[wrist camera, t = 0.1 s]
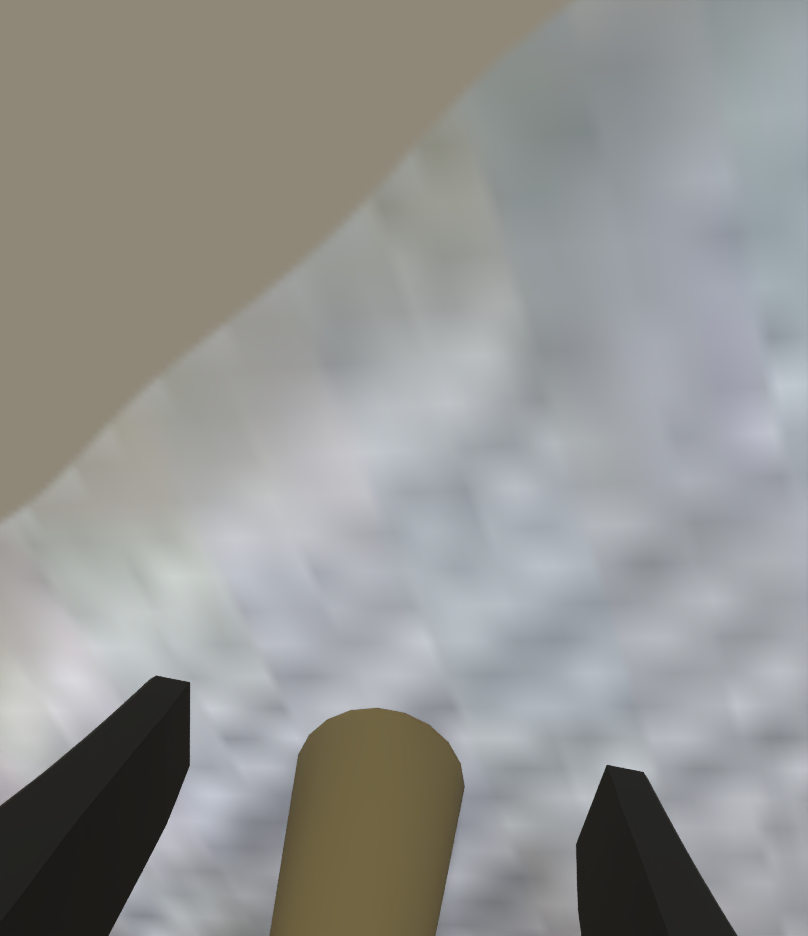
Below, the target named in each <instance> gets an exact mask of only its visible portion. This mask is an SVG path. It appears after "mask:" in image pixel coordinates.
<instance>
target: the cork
mask: <svg viewBox="0 0 808 936" xmlns="http://www.w3.org/2000/svg"><path fill="white" fill-rule="evenodd" d="M464 787H465V786H464V780H463V774H462V769H461V763H460V762H459V760H458V758H457V756H456V755H455V753H454V751H453V749H452V748H451V746H450V744H449V742H447V741H446V740H445V739H444V738H443V737H442V736H441V735H440V734H439V733H438V732H436V731H435V730H434V729H433V728H432V727H431V726H430V725H428V724H426V723H424V722H422V721H420V720H418V719H416V718H414V717H412V716H410V715H408V714H406V713H402V712H397V711H392V710H386V709H381V708H371V709H359V710H350V711H348V712H345V713H343V714H340V715H338V716H335V717H333V718H330V719H328V720H326V721H325V722H324V723H323V724H322V725H320V726H319V727H318V728H317V729H316V730H315V731H313V732H312V733H311V734H310V735H309V736H308V738H307V740H306V742H305V743H304V745H303V747H302V749H301V751H300V753H299V754H298V760H297V766H296V772H295V779H294V785H293V791H292V798H291V804H290V810H289V816H288V823H287V829H286V835H285V842H284V848H283V854H282V861H281V867H280V873H279V880H278V886H277V892H276V899H275V905H274V911H273V918H272V924H271V930H270V936H435V935H436V930H437V925H438V920H439V915H440V910H441V904H442V899H443V894H444V889H445V884H446V879H447V874H448V869H449V863H450V858H451V853H452V848H453V843H454V838H455V833H456V828H457V822H458V817H459V812H460V807H461V802H462V797H463V792H464Z"/></svg>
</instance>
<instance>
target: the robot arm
mask: <svg viewBox="0 0 808 936" xmlns="http://www.w3.org/2000/svg"><path fill="white" fill-rule="evenodd" d="M189 766H190V682H186V681H181V680H176V679H171V678H166V677H161V676H155V677H153V678H151V679H150V680H149V681H148V682H146V683H145V684H144V685H143V686H142V687H141V688H140V689H139V690H138V691H137V692H136V693H135V694H133V695H132V696H131V697H130V698H129V699H128V700H127V701H126V702H125V703H124V704H123V705H121V706H120V707H119V708H118V709H117V710H116V711H115V712H114V713H113V714H111V715H110V716H109V717H108V718H107V719H106V720H105V721H104V722H102V723H101V724H100V725H99V726H98V727H97V728H96V729H95V730H93V731H92V732H91V733H90V734H89V735H88V736H87V737H85V738H84V739H83V740H82V741H81V742H79V743H78V744H77V745H76V746H75V747H73V748H72V749H71V750H70V751H69V752H67V753H66V754H65V755H64V756H63V757H62V758H60V759H59V760H58V761H57V762H56V763H54V764H53V765H52V766H51V767H50V768H48V769H47V770H46V771H45V772H43V773H42V774H41V775H40V776H38V777H37V778H36V779H34V780H33V781H32V782H31V783H29V784H28V785H27V786H25V787H24V788H23V789H21V790H20V791H19V792H18V793H16V794H15V795H14V796H12V797H11V798H10V799H9V800H7V801H6V802H5V803H3V804H2V805H1V806H0V936H109V934H110V932H111V930H112V928H113V926H114V924H115V922H116V920H117V918H118V917H119V915H120V913H121V911H122V909H123V907H124V905H125V903H126V901H127V899H128V898H129V896H130V894H131V892H132V890H133V888H134V886H135V884H136V882H137V880H138V879H139V877H140V875H141V873H142V871H143V869H144V867H145V865H146V863H147V861H148V859H149V857H150V855H151V854H152V852H153V850H154V848H155V846H156V844H157V842H158V840H159V838H160V836H161V834H162V832H163V830H164V828H165V826H166V824H167V822H168V819H169V817H170V814H171V812H172V809H173V807H174V805H175V802H176V800H177V797H178V794H179V792H180V789H181V787H182V784H183V781H184V779H185V776H186V774H187V771H188V768H189ZM576 859H577V893H578V913H579V920H580V928H581V936H737V934H736V933H735V931H734V929H733V928H732V926H731V925H730V923H729V921H728V920H727V918H726V917H725V915H724V913H723V912H722V910H721V908H720V907H719V905H718V903H717V902H716V900H715V898H714V897H713V895H712V893H711V892H710V890H709V888H708V886H707V885H706V883H705V881H704V880H703V878H702V876H701V875H700V873H699V871H698V870H697V868H696V866H695V864H694V863H693V861H692V859H691V857H690V856H689V854H688V852H687V850H686V848H685V847H684V845H683V843H682V841H681V839H680V838H679V836H678V834H677V832H676V830H675V829H674V827H673V825H672V823H671V821H670V819H669V818H668V816H667V814H666V812H665V810H664V808H663V806H662V804H661V803H660V801H659V799H658V797H657V795H656V793H655V791H654V789H653V788H652V786H651V784H650V782H649V780H648V778H647V777H646V775H645V774H644V772H640V771H635V770H630V769H625V768H620V767H615V766H610V765H607V766H606V768H605V771H604V773H603V776H602V779H601V781H600V784H599V786H598V789H597V792H596V794H595V797H594V799H593V802H592V805H591V807H590V810H589V812H588V815H587V817H586V820H585V823H584V825H583V828H582V830H581V833H580V836H579V838H578V841H577V843H576Z"/></svg>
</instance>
